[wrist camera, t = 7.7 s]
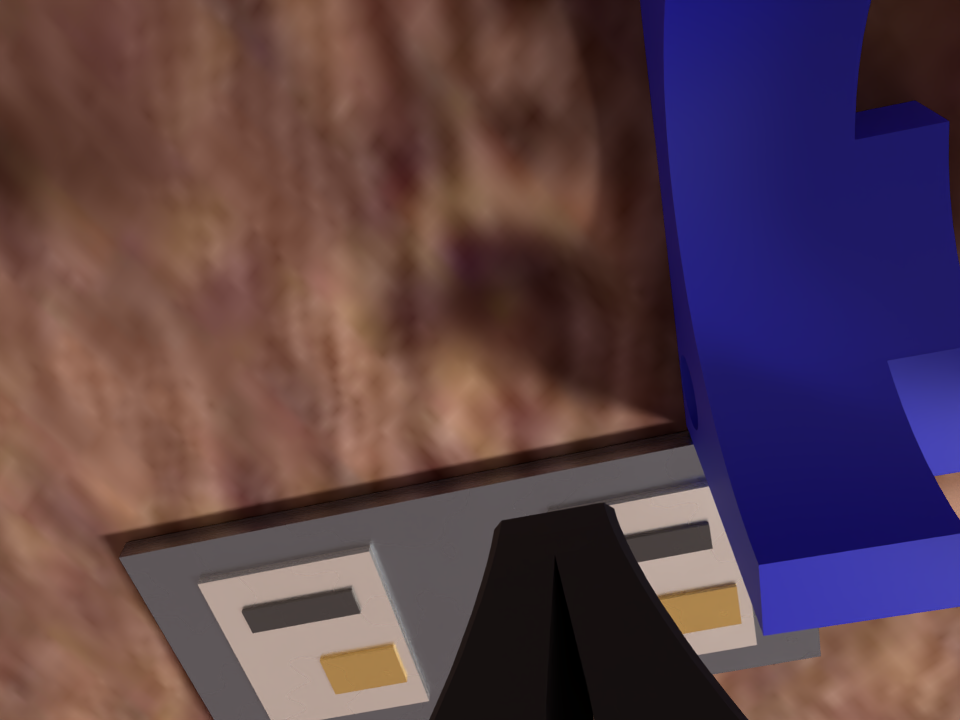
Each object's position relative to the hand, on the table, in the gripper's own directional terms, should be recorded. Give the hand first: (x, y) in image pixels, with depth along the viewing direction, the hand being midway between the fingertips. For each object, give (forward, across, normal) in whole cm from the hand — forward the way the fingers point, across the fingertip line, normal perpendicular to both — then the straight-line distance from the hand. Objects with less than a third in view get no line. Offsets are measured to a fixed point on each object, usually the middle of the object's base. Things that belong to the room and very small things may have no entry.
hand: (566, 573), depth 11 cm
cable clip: (+8, -5, -2) cm, 10 cm away
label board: (+8, +3, +8) cm, 11 cm away
